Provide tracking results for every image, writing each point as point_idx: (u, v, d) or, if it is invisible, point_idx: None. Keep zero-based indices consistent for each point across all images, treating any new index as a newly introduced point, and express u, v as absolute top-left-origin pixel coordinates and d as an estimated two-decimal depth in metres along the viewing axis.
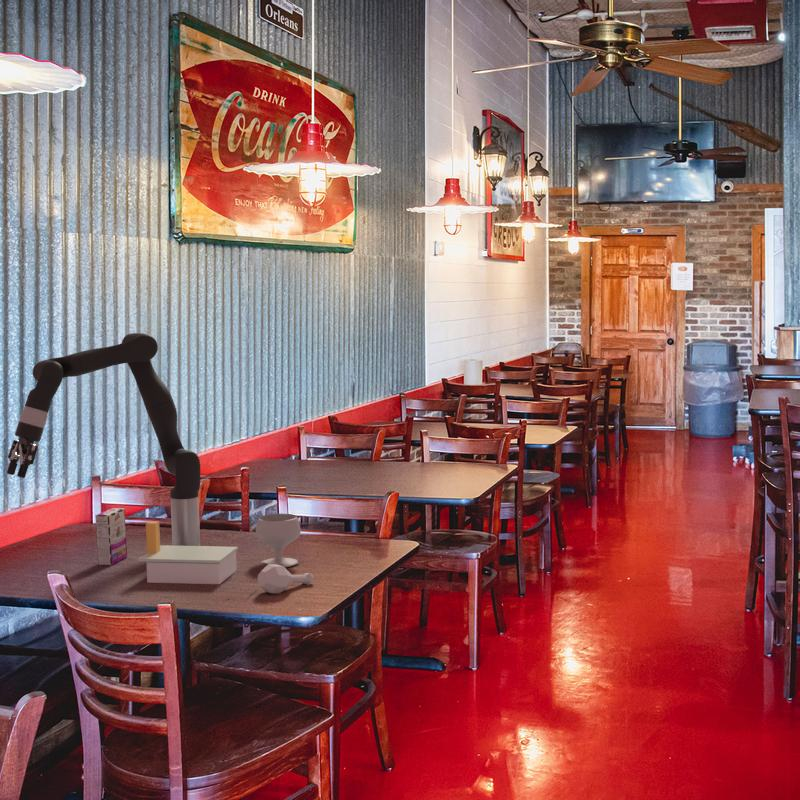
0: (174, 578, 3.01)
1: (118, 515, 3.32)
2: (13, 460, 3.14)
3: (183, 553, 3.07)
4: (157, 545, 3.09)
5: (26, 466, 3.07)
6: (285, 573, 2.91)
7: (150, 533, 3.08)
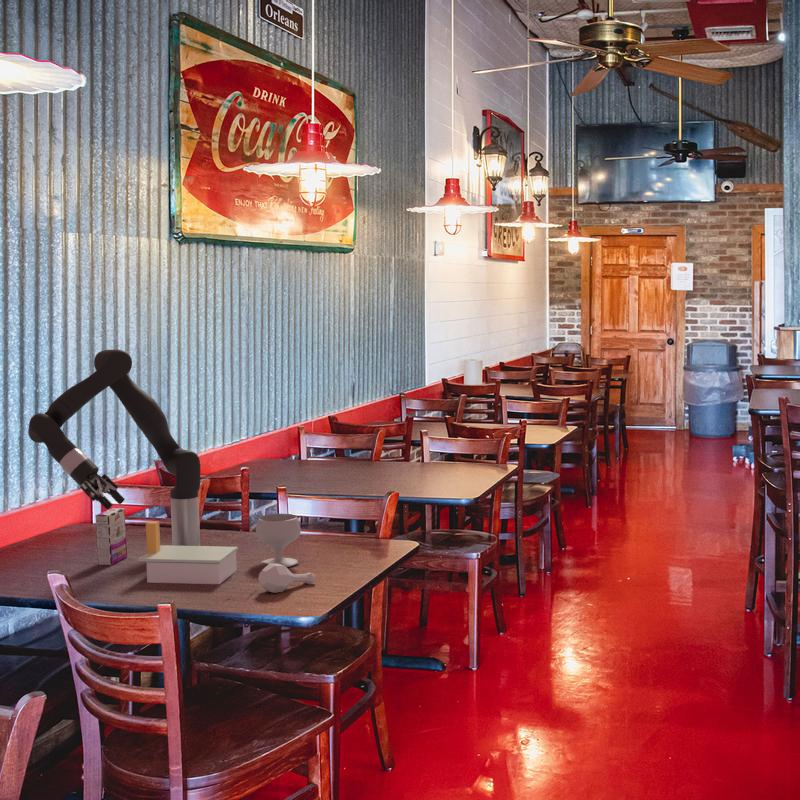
0: (174, 578, 3.01)
1: (118, 515, 3.32)
2: (111, 493, 3.14)
3: (183, 553, 3.07)
4: (157, 545, 3.09)
5: (101, 499, 3.05)
6: (286, 572, 2.92)
7: (150, 533, 3.08)
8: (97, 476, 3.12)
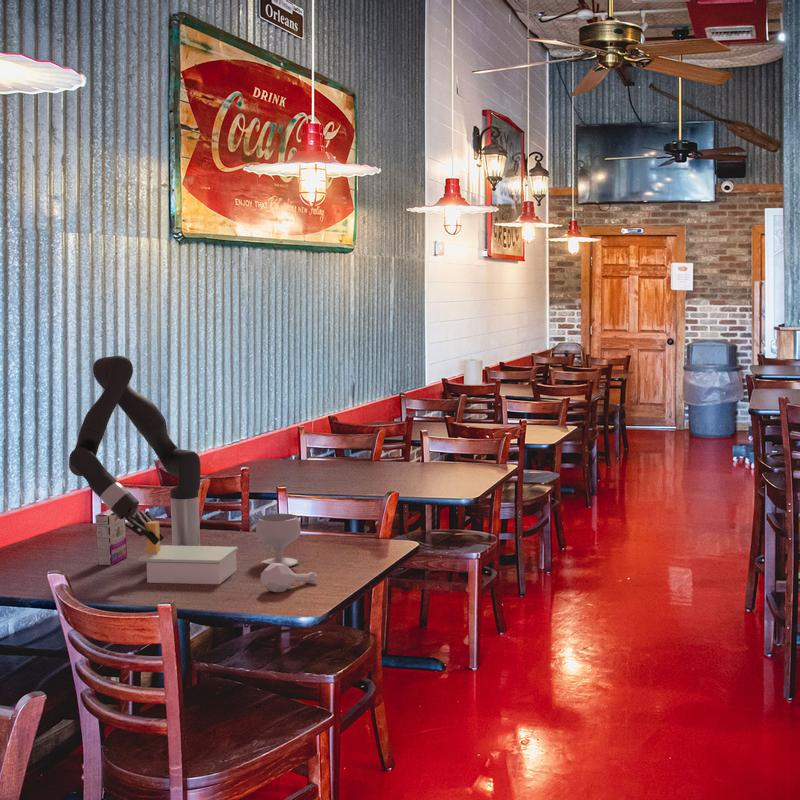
0: (174, 578, 3.01)
1: None
2: None
3: (183, 553, 3.07)
4: (157, 545, 3.09)
5: (148, 534, 3.06)
6: (288, 572, 2.92)
7: None
8: (137, 510, 3.11)
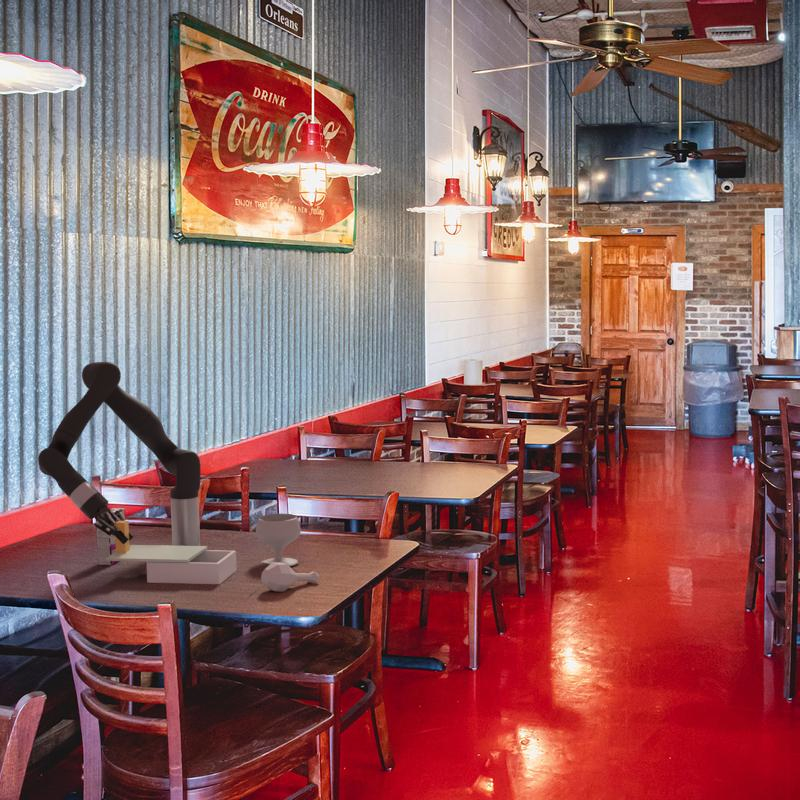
0: (174, 578, 3.01)
1: None
2: None
3: (152, 552, 3.09)
4: (126, 544, 3.10)
5: (117, 533, 3.08)
6: (288, 571, 2.93)
7: None
8: (107, 509, 3.13)
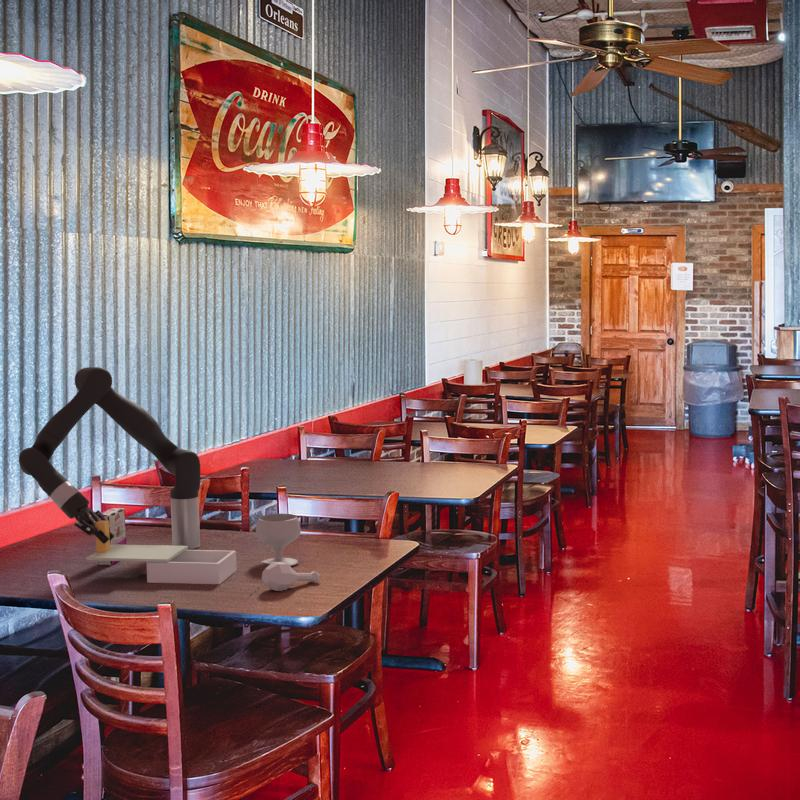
0: (174, 578, 3.01)
1: (118, 515, 3.32)
2: None
3: (132, 552, 3.10)
4: (107, 544, 3.11)
5: (97, 533, 3.09)
6: (289, 571, 2.93)
7: None
8: (88, 509, 3.14)
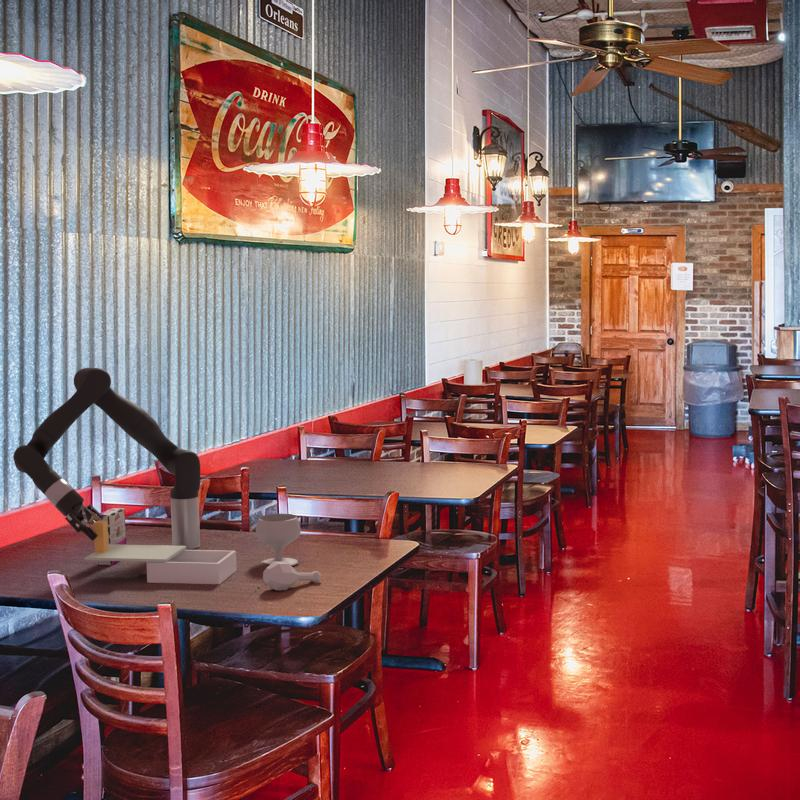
0: (174, 578, 3.01)
1: (118, 515, 3.32)
2: None
3: (130, 552, 3.10)
4: (105, 544, 3.11)
5: (86, 530, 3.07)
6: (290, 571, 2.94)
7: (97, 532, 3.10)
8: (82, 507, 3.14)
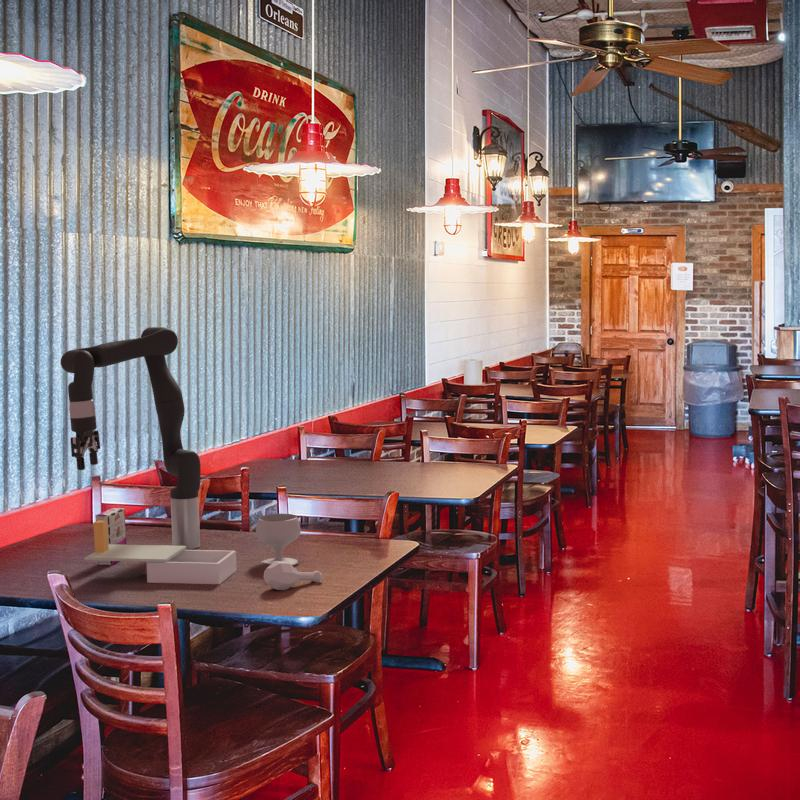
0: (174, 578, 3.01)
1: (118, 515, 3.32)
2: (91, 451, 3.23)
3: (130, 552, 3.10)
4: (105, 544, 3.11)
5: (79, 459, 3.13)
6: (290, 570, 2.94)
7: (97, 532, 3.10)
8: (90, 432, 3.19)
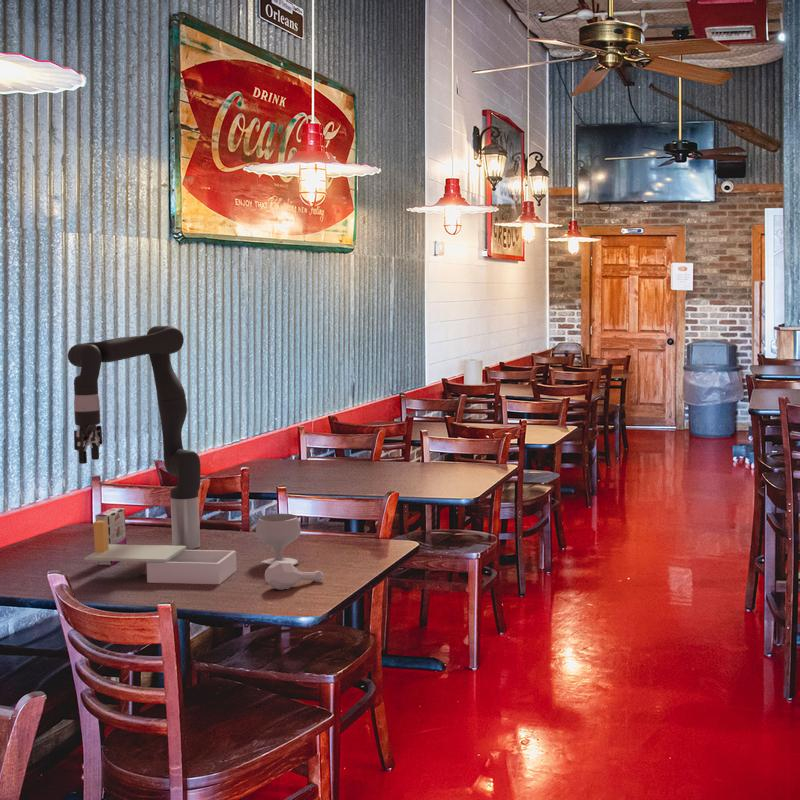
0: (174, 578, 3.01)
1: (118, 515, 3.32)
2: (93, 446, 3.23)
3: (130, 552, 3.10)
4: (105, 544, 3.11)
5: (81, 452, 3.13)
6: (291, 570, 2.95)
7: (97, 532, 3.10)
8: (94, 427, 3.20)
